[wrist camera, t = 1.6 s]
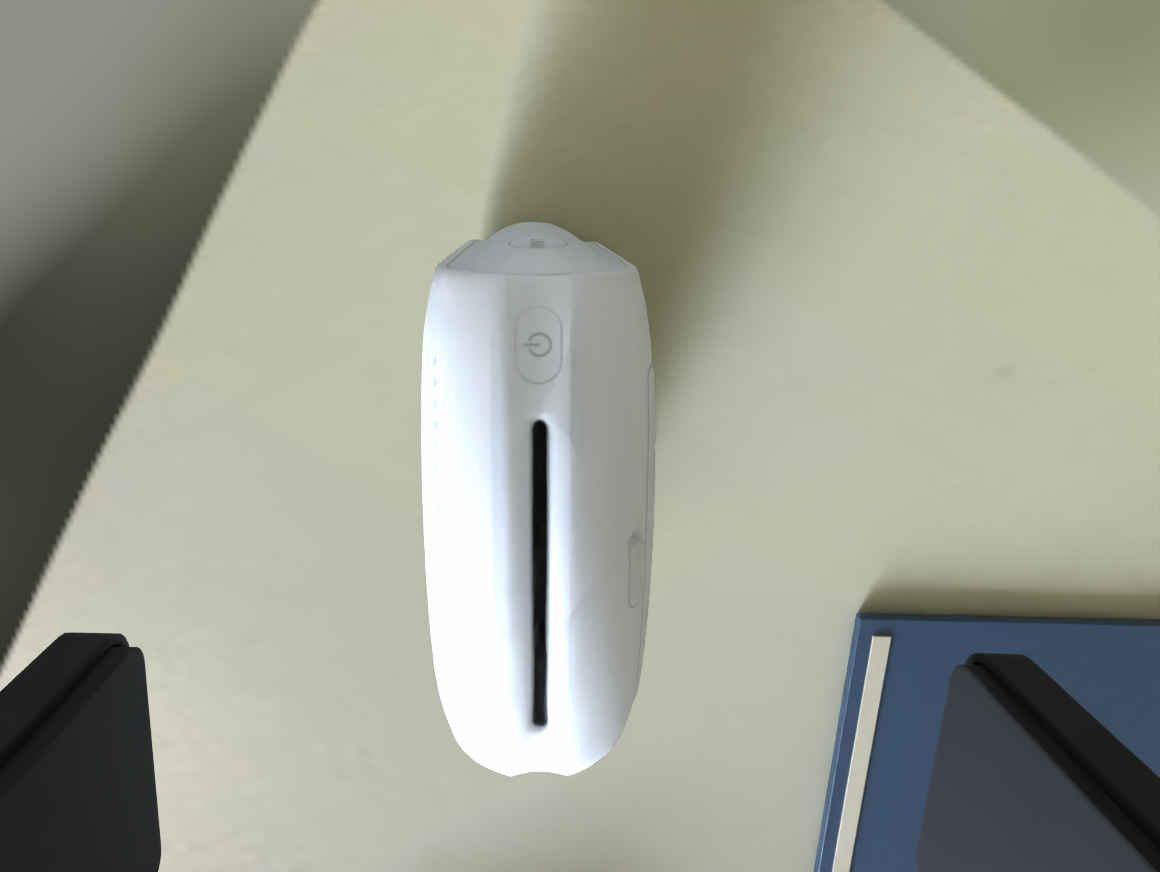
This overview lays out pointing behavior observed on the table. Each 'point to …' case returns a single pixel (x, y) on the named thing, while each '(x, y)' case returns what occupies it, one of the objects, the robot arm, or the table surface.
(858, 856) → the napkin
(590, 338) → the photo printer
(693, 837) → the table surface
